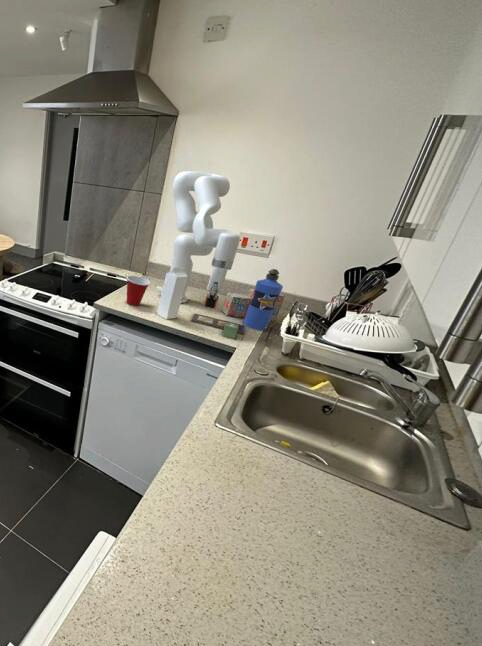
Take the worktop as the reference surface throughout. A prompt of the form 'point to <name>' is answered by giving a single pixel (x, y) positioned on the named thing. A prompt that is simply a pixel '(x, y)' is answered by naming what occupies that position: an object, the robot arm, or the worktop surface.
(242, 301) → the stack of blocks
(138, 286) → the plastic cup
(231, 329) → the letter I
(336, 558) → the worktop surface
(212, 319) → the word board
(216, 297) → the letter H
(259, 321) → the water bottle
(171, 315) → the milk
